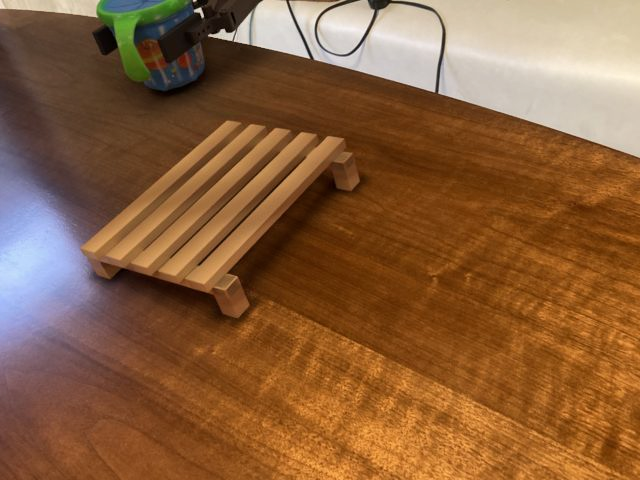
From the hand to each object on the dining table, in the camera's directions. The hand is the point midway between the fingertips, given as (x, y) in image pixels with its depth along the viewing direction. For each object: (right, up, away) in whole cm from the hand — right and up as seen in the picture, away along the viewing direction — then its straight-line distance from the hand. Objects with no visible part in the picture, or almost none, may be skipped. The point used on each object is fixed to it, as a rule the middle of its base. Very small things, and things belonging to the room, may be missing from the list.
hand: (130, 47), depth 85 cm
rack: (+15, -22, -16) cm, 31 cm away
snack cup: (+3, -2, +7) cm, 8 cm away
